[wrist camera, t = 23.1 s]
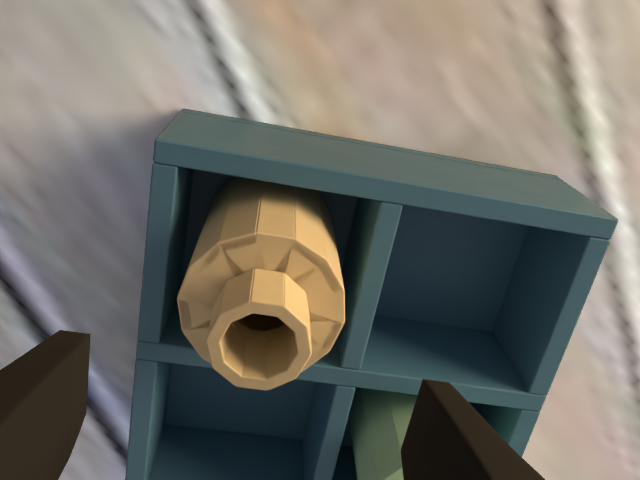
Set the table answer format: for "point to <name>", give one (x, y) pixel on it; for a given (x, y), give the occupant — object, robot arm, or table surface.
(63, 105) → the table surface
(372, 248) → the carrier
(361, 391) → the mint bottle
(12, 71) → the table surface
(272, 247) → the cream bottle
